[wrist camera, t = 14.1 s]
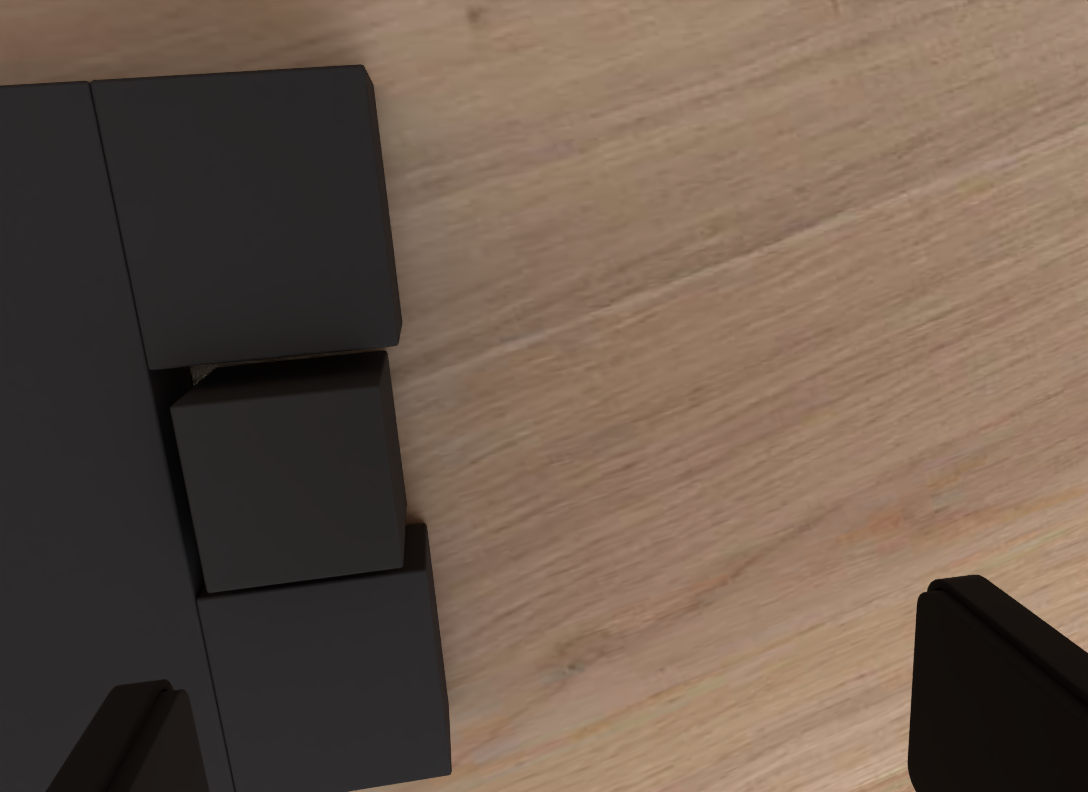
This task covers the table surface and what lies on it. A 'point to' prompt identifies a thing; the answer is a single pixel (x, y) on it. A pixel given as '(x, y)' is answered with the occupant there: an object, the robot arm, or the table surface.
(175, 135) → the base pad
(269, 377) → the pad block
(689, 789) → the table surface
